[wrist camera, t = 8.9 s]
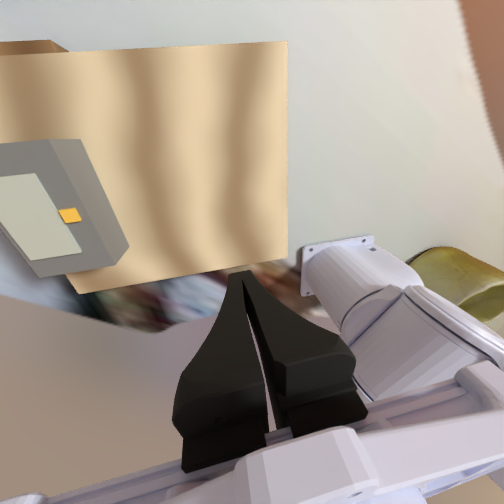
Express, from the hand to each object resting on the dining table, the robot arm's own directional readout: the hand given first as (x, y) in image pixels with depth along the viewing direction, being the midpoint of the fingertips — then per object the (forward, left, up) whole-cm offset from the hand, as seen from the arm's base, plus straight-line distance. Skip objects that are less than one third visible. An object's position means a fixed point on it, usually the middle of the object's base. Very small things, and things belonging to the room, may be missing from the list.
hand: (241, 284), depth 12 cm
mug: (-27, +13, -11) cm, 32 cm away
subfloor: (+5, -5, -10) cm, 12 cm away
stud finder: (+11, -5, -7) cm, 14 cm away
